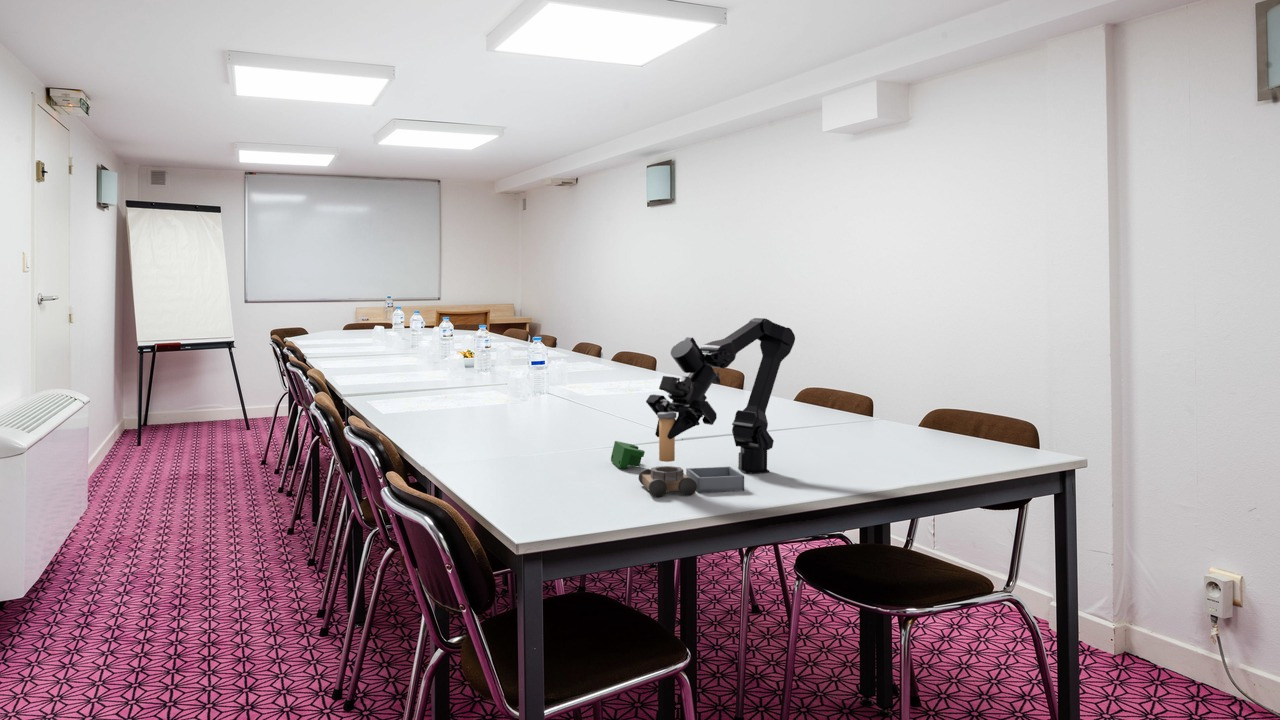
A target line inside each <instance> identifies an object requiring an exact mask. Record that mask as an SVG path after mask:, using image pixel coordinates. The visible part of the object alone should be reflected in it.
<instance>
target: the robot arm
mask: <svg viewBox="0 0 1280 720" xmlns="http://www.w3.org/2000/svg"><path fill="white" fill-rule="evenodd" d="M757 340H758V341H759V342H760V344H759V348H760V351H761V355H762V357H761V360H760V363H759V366H758V369H757V373H756V376H755V379H754V382H753V386H752V388H751V392H750V395H749V399H748V401H747V403H746V407H745V408H744V409H743V410H738V409H737V410H736V413H735V414H734V419H733V422H732V424H731V425H732V429H731V434H732V436H733V440H734V444H735V447H740V452H738V464H737V465H738V467H737V470H740V471H741V472H742V473H744V474H764V473H766V474H767V473H770V469H768V451H769V450H771V449H773V445H774V442H775V441H774V439H773V437H772V436H771V435H770V433H769V432H768V425H769V423H768V419H767V415H766V411H767V408H768V404H769V403H770V402H769V401H770V398H771V394H772V392H773V388H774V385H775V381H776V380H777V375H778V372H779V369H780V367H781V366H780V365H781V363H782V362H783V360H785V358H786V357H788V356H789V355H790V353H791V351H792V349H793V347H794V345H795V341H796V335H795V333H794V332H793V330H792V329H791V328H790V327H786V326H783V325H780V324H778V323H776V322H773V321H771V320H770V319H768V318H765V317H764V318H762V317H761V318H760V317H759V318H758V317H757V318H756V317H755V318H751V319H750V320H749V321H748V322H747V323H746V324H744V325H743V326H741V327H740V328H738V329H737V330H735V331H734V332H732V333H730V334H729V335H728V336H726V337H724V338H722V339H718V340H714V341H713V340H712V341H710V342H708V343H707V342H706V343H704V344H702V346H701V347H700V346H699V345H698V344H697V342H696V340H695V338H694V337H692V336H691V337H690V336H688V337H687V336H686V338H685V339H684V340H682V341H680V342H678V343H677V344H675V345H673V346H672V348H671V350H670V356H671V357H672V358H673V360H674V361H675V363H676V364H677V366H678V367H679V368H680V370H681V371H682V372H683V373H685V374H688V375H687V376H686V375H682V376H681V377H676V376H666V375H662V378H661V381H660V385H659V387H658V389H659V391H664V392H666V393H667V394H668V395H667V396H668V398H669V399H670V400H672V401H670V400H668V399H667V398H666V397H665V396H664V395H662V394H661V395H660V394H650V395H649V396H648V398H647V399H646V400H645V403H646V404H647V405H648V407H649V408H650V410H652V411H653V412H654V414H655V415H656V416H657V413H659V412H675V413H678V414H677V416H676V418H675V423H674V424H673V426H672V428H671V429H670V431H669V433H668V436H667V437H668V438H669V439H672V438H674V437H675V438H676V437H677V436H679V435H680V434H682V433H684V432H686V431H688V430H690V429H692V428H694V427H695V426H700V422H699V421H700V419H702V423H703V424H704V425H711V426H712V425H714V423H715V421H716V420H717V412H716V411H715V409H714V408H713V407H712V405H711V404H710V402H709V401H707V399H708V398H707V396H706V395H705V394H706V393H707V391H708V390H709V388H710V387H711V386H712V384H716V385H720V384H721V378H720V373H719V372H717V371H715V370H714V369H715V368H716V369H727V368H728V367H729V366H730V365H731V364H732V363H733V362H734V361H735V359H736V356H737V354H738V353H739V352H740V351H742V350H743V349H745V348H746V347H748V346H750V345H751V344H752V343H754V342H755V341H757ZM655 436H656V437H657V438H659V419H658V420H657V424H656V429H655Z"/></svg>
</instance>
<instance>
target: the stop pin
mask: <svg viewBox="0 0 1280 720" xmlns="http://www.w3.org/2000/svg"><path fill="white" fill-rule="evenodd" d="M656 417H657V419H658V420H659V437H658V441H659V443H658V449H659V451H658V456H659V457H658V460H659V462H666V463H668V462H674V461H675V459H676V456H675V455H676V452H675V451H676V450H675V449H676V448H675V445H676V442H675V440H676V436H675V437H674V438H672V439H669V438H668V437H667V436H668V433H669V431H670V429H671V428H672V426H673V424H674V423H675V419H677V412H659V413H657V415H656Z"/></svg>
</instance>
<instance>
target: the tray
mask: <svg viewBox="0 0 1280 720" xmlns="http://www.w3.org/2000/svg"><path fill="white" fill-rule="evenodd" d="M685 473H686V474H685V475H686V476H687V477H689V478H691V479H693V480H694V481H695V482H696V484H697V489H696V492H697V494H709V493H727V492H728V493H729V492H730V491H732V492H745V475H744V474H742V473H741V472H739V471H737V470H736V469H734V468H733V467H731V466H715V467H714V466H713V467H690V468H686V472H685Z"/></svg>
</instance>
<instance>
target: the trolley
mask: <svg viewBox="0 0 1280 720" xmlns="http://www.w3.org/2000/svg"><path fill="white" fill-rule="evenodd" d="M638 482H639V483H640V484H641V485H642V486H644V487H645V488H646V489H647V490H648V492H649V494H650V495H651V496H652V497H654V498H661V497H664V496H665V494H666V493H667V492H680V493H681V494H682V495H683V496H685V497H690V496H693V495H694V494H695V493H696V492H697V491H696V489H697V484H696V482H695V481H694V480H693V479H691V478H689V477H687V476H686V474H685V473H684V469H683V468H682V467H680V466H673V465H670V466H669V465H661V466H659V465H658V466H654V467H651V468H645V469H642V470H641V471H640V472H639V474H638Z"/></svg>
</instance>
